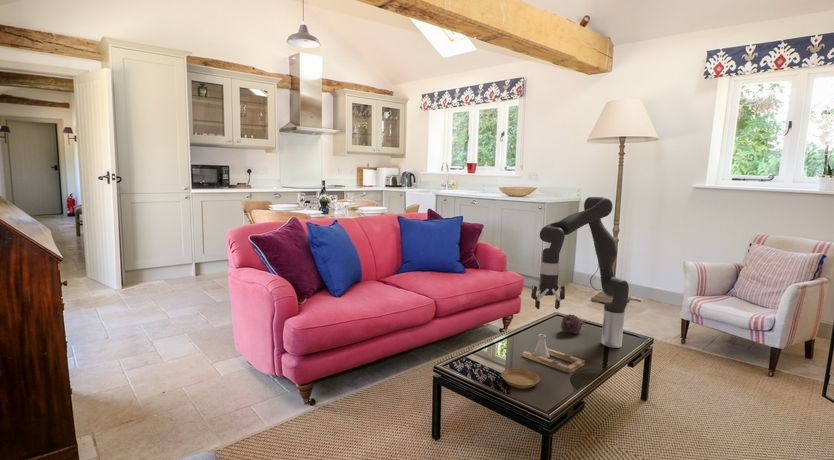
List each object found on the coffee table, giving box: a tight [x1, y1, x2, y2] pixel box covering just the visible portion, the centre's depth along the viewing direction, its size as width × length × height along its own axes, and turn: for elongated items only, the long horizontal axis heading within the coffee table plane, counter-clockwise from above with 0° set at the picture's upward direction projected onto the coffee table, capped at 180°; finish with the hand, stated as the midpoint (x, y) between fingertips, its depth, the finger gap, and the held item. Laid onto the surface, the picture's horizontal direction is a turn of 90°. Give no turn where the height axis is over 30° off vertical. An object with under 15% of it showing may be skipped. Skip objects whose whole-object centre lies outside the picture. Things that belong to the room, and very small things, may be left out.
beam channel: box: [522, 347, 586, 374], centre depth 198 cm, size 13×23×2 cm, turn 44°
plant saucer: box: [501, 367, 540, 389], centre depth 177 cm, size 15×15×3 cm
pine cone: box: [560, 314, 586, 335], centre depth 233 cm, size 18×10×10 cm, turn 128°
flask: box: [532, 333, 551, 359], centre depth 202 cm, size 7×7×10 cm
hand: (547, 308), depth 195 cm, fingers open, 8 cm apart
